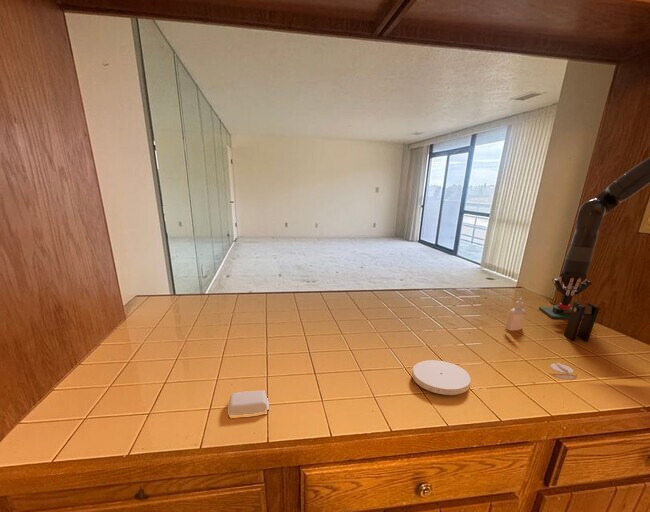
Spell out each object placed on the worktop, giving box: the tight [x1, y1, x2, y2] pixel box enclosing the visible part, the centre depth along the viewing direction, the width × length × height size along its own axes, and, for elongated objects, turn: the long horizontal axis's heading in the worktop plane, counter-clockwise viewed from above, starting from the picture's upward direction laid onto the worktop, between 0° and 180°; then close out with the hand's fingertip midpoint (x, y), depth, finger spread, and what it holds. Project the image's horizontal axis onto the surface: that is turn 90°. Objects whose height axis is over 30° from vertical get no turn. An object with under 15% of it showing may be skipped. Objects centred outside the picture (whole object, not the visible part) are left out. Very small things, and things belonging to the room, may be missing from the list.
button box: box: [538, 304, 583, 321], centre depth 131 cm, size 12×10×4 cm
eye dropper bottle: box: [504, 297, 527, 334], centre depth 116 cm, size 4×6×12 cm
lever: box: [555, 305, 592, 315], centre depth 113 cm, size 13×5×2 cm, turn 175°
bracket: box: [563, 301, 600, 343], centre depth 109 cm, size 10×8×13 cm
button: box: [558, 302, 571, 309], centre depth 130 cm, size 4×4×2 cm
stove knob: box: [549, 362, 578, 381], centre depth 93 cm, size 7×7×2 cm
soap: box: [227, 389, 270, 416], centre depth 76 cm, size 9×7×3 cm
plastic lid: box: [411, 359, 472, 396], centre depth 88 cm, size 14×14×2 cm
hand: (564, 304), depth 129 cm, fingers closed
